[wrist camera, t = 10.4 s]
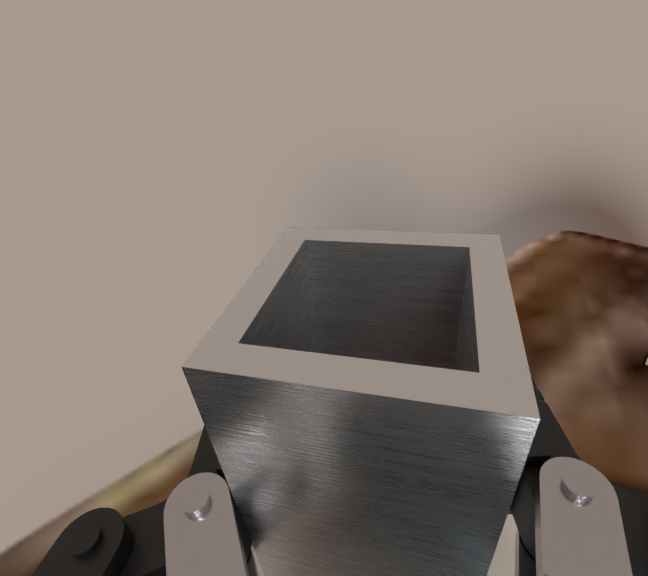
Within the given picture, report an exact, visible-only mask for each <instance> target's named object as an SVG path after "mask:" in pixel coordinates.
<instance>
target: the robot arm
mask: <svg viewBox="0 0 648 576" xmlns="http://www.w3.org/2000/svg"><path fill="white" fill-rule="evenodd" d="M531 380H532V384H533V389H534V393H535V398H536V402H537V407H538V411H539V416H540V421H539V424H538V427H537V430H536V432H535V435H534V438H533V441H532V444H531V447H530V450H529V453H528V456H527V459H526V462H525V465H524V468H523V471H522V474H521V476H520V479H519V482H518V485H517V488H516V491H515V494H514V497H513V500H512V503H511V506H510V509H509V512H508V514H512V515H513V518H514V520H515V523H516V526H517V528H518V530H517V532H516V536H515V576H648V493H644V492H640V491H636V490H632V489H628V488H624V487H621V486H618V485H615V484H613V483H610V482H609V481H608V480H607V478H606V477H605V476H604V475H603V474H602V473H600V472H599V471H598V470H597V469H595V468H594V467H592V466H591V465H589V464H587V463H585V462H583V461H581V460H580V459H579V457H578V456H577V454H576V453H575V451H574V449H573V448H572V446H571V444H570V442H569V441H568V439H567V437H566V436H565V434H564V432H563V430H562V429H561V427H560V425H559V424H558V422H557V420H556V418H555V417H554V415H553V413H552V412H551V410H550V408H549V406H548V405H547V403H545V402H544V398H543V396H542V394H541V393H540V391H539V389H537V386H536V384H535V382H534V381H533V379H532V377H531ZM32 576H258V571H257V567H256V562H255V558H254V553H253V549H252V539H251V537H250V534H249V532H248V529H247V527H246V524H245V521H244V519H243V516H242V514H241V511H240V509H239V507H237V505H236V503H235V500H234V498H233V495H232V493H231V490H230V488H229V485H228V483H227V480H226V478H225V475H224V473H223V470H222V468H221V465H220V462H219V460H218V457H217V455H216V452H215V450H214V447H213V445H212V442H211V440H210V437H209V435H208V432H207V430H206V427H205V425H204V428H203V431H202V435H201V438H200V441H199V445H198V448H197V451H196V454H195V458H194V461H193V464H192V468H191V470H190V473H189V475H188V477H187V479H185V480H184V481H182V482H181V483H180V484H179V485H178V486H177V487H176V488H175V489H174V490H173V491H172V493H171V494H170V496H169V497H168V499H167V500H165V501H163V502H161V503H159V504H157V505H155V506H152V507H149V508H147V509H144V510H141V511H139V512H136V513H133V514H131V515H128V516H125V517H122V516H121V515H120V514H119V513H118V512H117V511H116V510H114V509H111V508H98V509H94V510H91V511H89V512H87V513H85V514H83V515H81V516H80V517H78V518H77V519H75V520H74V521H73V522H72V523H71V524H69V525H68V527H67V528H66V529H65V530H64V531H63V532H62V533H61V535H60V536H59V537H58V539H57V540H56V542H55V543H54V544H53V546H52V547H51V549H50V550H49V552H48V553H47V554H46V556H45V557H44V559H43V560H42V561H41V563H40V564H39V566H38V567H37V569H36V570H35V571H34V573H33V574H32Z"/></svg>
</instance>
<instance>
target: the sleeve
mask: <svg viewBox="0 0 648 576" xmlns="http://www.w3.org/2000/svg"><path fill="white" fill-rule="evenodd" d="M182 369H183V372H184V374H185V377H186V379H187V381H188V384H189V387H190V389H191V391H192V394H193V397H194V399H195V402H196V404H197V407H198V410H199V412H200V415H201V417H202V420H203V422H204V425H205V427H206V430H207V432H208V435H209V437H210V440H211V442H212V445H213V447H214V450H215V452H216V455H217V457H218V460H219V462H220V465H221V468H222V470H223V473H224V475H225V478H226V480H227V483H228V485H229V488H230V490H231V493H232V495H233V498H234V500H235V503H236V505H237V507H239V509H240V511H241V514H242V516H243V519H244V521H245V524H246V527H247V529H248V532H249V534H250V537H251V539H252V546H253V548H254V551H255V553H256V556H257V558H258V561H259V563H260V566H261V568H262V571H263V573H264V576H487V573H488V570H489V567H490V565H491V562H492V559H493V556H494V553H495V550H496V547H497V544H498V541H499V538H500V535H501V532H502V529H503V526H504V523H505V521H506V518H507V515H508V512H509V509H510V506H511V503H512V500H513V497H514V494H515V491H516V488H517V485H518V482H519V479H520V476H521V474H522V471H523V468H524V465H525V462H526V459H527V456H528V453H529V450H530V447H531V444H532V441H533V438H534V435H535V432H536V430H537V427H538V424H539V421H540V416H539V411H538V407H537V402H536V398H535V393H534V389H533V384H532V380H531V375H530V371H529V366H528V362H527V357H526V353H525V348H524V344H523V339H522V335H521V330H520V326H519V321H518V317H517V312H516V307H515V303H514V298H513V294H512V289H511V285H510V280H509V276H508V271H507V267H506V262H505V258H504V253H503V249H502V245H501V240H500V235H492V234H464V233H438V232H437V233H436V232H410V231H381V230H355V229H354V230H353V229H327V228H300V227H288V228H287V229H286V230H285V232H284V233H283V234H282V236H281V237H280V238H279V240H278V241H277V242H276V243H275V245H274V246H273V247H272V249H271V250H270V251H269V253H268V254H267V255H266V257H265V258H264V259H263V261H262V262H261V263H260V264H259V266H258V267H257V268H256V270H255V271H254V273H253V274H252V275H251V276H250V278H249V279H248V280H247V282H246V283H245V284H244V286H243V287H242V288H241V289H240V291H239V292H238V293H237V295H236V296H235V297H234V299H233V300H232V301H231V303H230V304H229V305H228V307H227V308H226V309H225V311H224V312H223V313H222V314H221V316H220V317H219V318H218V320H217V321H216V322H215V324H214V325H213V326H212V328H211V329H210V330H209V331H208V333H207V334H206V335H205V337H204V338H203V339H202V341H201V342H200V343H199V345H198V346H197V347H196V348H195V350H194V351H193V353H192V354H191V355H190V356H189V358H188V359H187V360H186V362H185V363H184V364H183V366H182Z"/></svg>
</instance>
